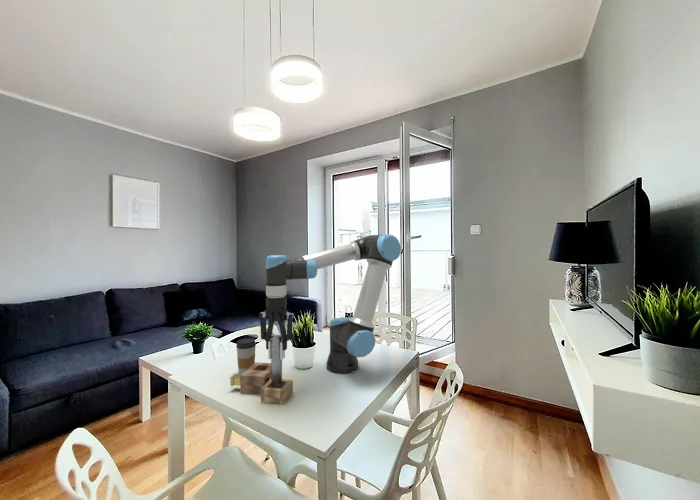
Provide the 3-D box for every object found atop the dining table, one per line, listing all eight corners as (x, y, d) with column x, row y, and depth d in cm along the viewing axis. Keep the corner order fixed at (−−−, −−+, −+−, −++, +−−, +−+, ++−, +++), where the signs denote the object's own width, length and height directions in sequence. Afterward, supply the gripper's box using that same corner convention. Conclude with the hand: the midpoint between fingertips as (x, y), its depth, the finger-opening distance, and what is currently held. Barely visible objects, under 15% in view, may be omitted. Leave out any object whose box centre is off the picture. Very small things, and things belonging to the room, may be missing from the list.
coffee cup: (250, 378, 127) (249, 344, 127) (232, 377, 129) (232, 343, 128) (259, 370, 135) (259, 338, 135) (243, 369, 137) (242, 337, 137)
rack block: (292, 392, 115) (292, 379, 115) (284, 404, 106) (284, 390, 106) (270, 390, 116) (270, 378, 116) (260, 402, 107) (260, 389, 107)
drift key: (265, 384, 117) (265, 375, 117) (262, 388, 114) (261, 379, 114) (235, 382, 119) (235, 373, 119) (230, 385, 116) (230, 377, 116)
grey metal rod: (283, 381, 113) (283, 334, 112) (279, 386, 109) (279, 338, 108) (273, 381, 113) (273, 334, 113) (269, 385, 109) (269, 337, 109)
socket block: (277, 379, 126) (277, 363, 126) (264, 395, 113) (264, 376, 113) (255, 378, 127) (255, 362, 127) (240, 393, 114) (240, 375, 114)
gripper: (301, 295, 113) (301, 355, 113) (259, 294, 116) (259, 353, 116) (294, 298, 106) (294, 363, 106) (250, 297, 108) (250, 360, 108)
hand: (276, 358), depth 111 cm, fingers closed on grey metal rod, 4 cm apart
